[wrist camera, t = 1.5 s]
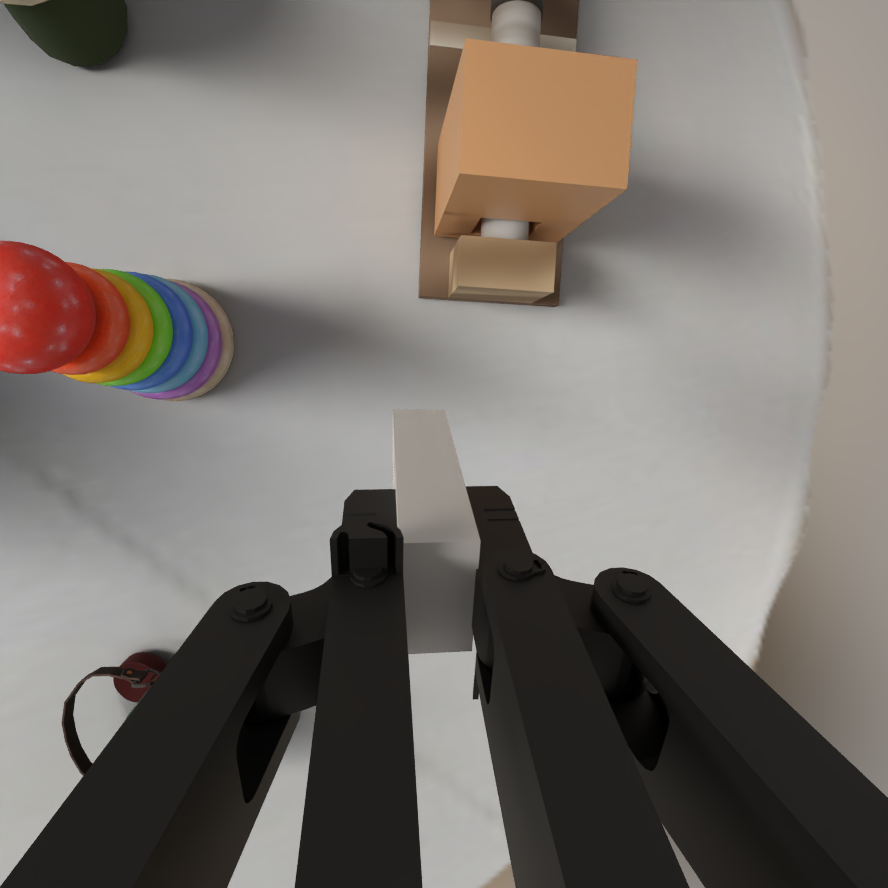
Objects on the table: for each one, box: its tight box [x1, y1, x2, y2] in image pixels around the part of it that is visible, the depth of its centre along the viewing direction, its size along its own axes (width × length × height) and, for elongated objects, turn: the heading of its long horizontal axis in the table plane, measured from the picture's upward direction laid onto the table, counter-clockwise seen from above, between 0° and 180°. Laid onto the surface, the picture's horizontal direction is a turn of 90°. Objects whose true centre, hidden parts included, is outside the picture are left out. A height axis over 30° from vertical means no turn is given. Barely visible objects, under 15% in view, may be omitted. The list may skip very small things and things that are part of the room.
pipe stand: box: [419, 0, 579, 307], centre depth 36 cm, size 26×10×6 cm, turn 177°
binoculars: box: [62, 652, 167, 776], centre depth 36 cm, size 9×11×10 cm
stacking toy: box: [0, 241, 234, 401], centre depth 29 cm, size 8×8×19 cm
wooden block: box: [434, 38, 637, 243], centre depth 32 cm, size 6×8×12 cm
